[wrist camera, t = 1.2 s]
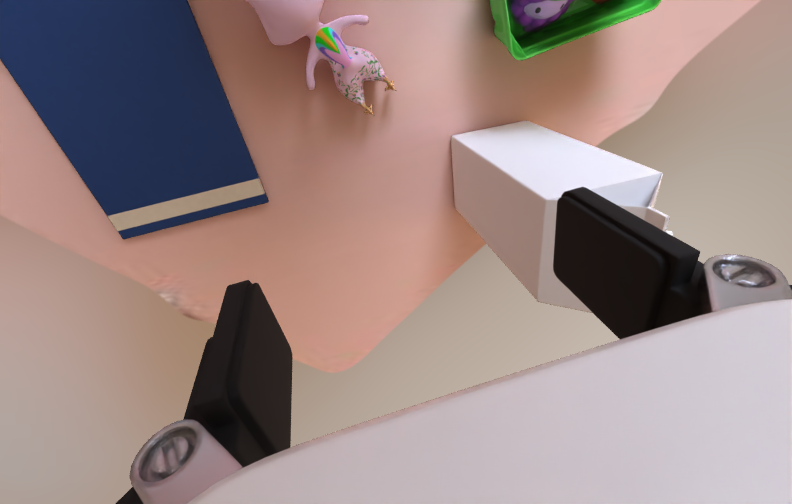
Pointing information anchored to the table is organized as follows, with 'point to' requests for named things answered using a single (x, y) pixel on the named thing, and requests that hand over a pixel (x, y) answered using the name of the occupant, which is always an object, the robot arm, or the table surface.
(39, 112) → the cloth
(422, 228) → the table surface
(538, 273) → the milk carton
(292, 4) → the rabbit figure
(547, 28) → the fruit basket
